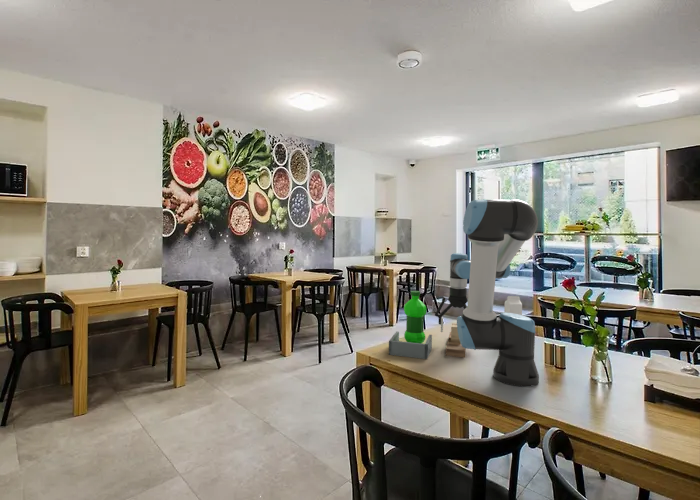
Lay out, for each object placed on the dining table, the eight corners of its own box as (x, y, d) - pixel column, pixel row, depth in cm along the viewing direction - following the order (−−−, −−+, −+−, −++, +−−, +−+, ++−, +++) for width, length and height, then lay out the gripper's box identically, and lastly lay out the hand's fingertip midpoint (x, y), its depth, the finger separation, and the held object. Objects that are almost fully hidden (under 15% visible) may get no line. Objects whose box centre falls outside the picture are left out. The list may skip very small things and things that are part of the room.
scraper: (465, 357, 157) (465, 334, 157) (445, 355, 160) (446, 332, 159) (466, 339, 184) (467, 319, 183) (449, 337, 186) (450, 317, 186)
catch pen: (427, 359, 155) (427, 345, 155) (388, 354, 160) (388, 340, 160) (431, 347, 170) (431, 334, 170) (396, 344, 175) (396, 331, 175)
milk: (503, 339, 184) (504, 295, 183) (515, 339, 184) (516, 295, 183) (508, 343, 178) (509, 297, 177) (521, 343, 178) (522, 297, 177)
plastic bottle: (424, 348, 169) (425, 294, 167) (401, 346, 172) (402, 292, 170) (427, 342, 178) (428, 290, 177) (405, 340, 181) (406, 289, 180)
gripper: (487, 287, 170) (485, 333, 171) (431, 284, 178) (430, 328, 179) (487, 290, 163) (485, 337, 164) (429, 286, 171) (428, 332, 172)
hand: (456, 332), depth 172 cm, fingers open, 13 cm apart
